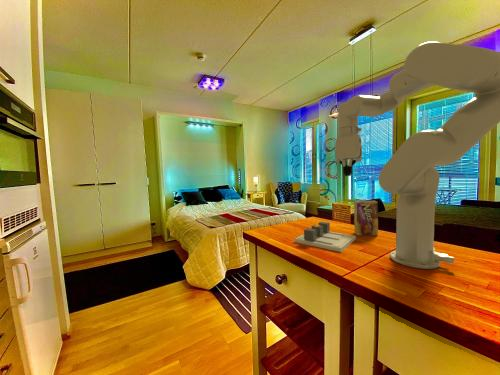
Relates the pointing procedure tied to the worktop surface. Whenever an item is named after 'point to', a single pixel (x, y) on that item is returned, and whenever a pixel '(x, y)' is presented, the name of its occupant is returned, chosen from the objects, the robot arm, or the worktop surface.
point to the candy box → (366, 217)
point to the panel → (329, 241)
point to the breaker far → (325, 226)
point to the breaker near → (310, 234)
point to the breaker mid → (318, 230)
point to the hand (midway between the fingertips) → (347, 175)
